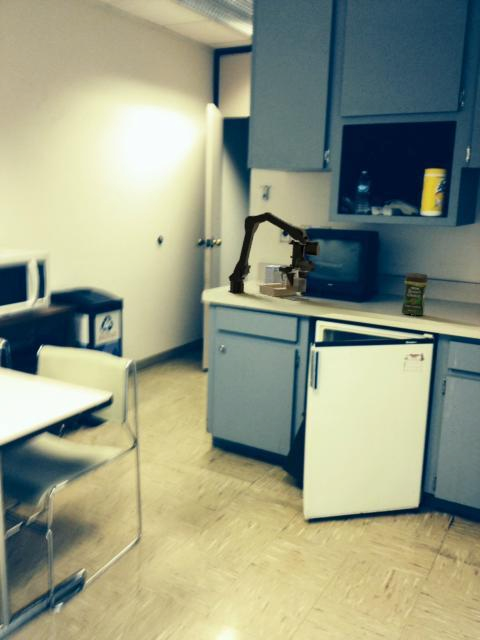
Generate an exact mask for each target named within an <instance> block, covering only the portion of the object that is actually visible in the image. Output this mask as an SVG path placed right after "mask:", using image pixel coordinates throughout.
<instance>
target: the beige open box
mask: <svg viewBox="0 0 480 640" xmlns="http://www.w3.org/2000/svg"><path fill="white" fill-rule="evenodd" d="M256 286H259V291H258V292H259V294H263V295H266V296H271V297H286V296H298V295H297V294H298V292H295V291H291V290H287V289H286V284H282V283H270V284H265V283H257V284H256Z"/></svg>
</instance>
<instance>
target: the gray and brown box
mask: <svg viewBox="0 0 480 640" xmlns="http://www.w3.org/2000/svg"><path fill="white" fill-rule="evenodd" d="M286 289H287V290H291V291H295V292H297V293H306V291H307V278H304V279H302V278H298V276H297V277H294V280H293V286H291V285H290V283H289V280H288V278H287V283H286Z"/></svg>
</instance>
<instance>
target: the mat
mask: <svg viewBox="0 0 480 640" xmlns="http://www.w3.org/2000/svg"><path fill="white" fill-rule="evenodd" d="M281 298H282V299H286V300H289V301H294V302H295V301H305V300H308V301H309V300H310V298H308V297H304V296H300V295H287V296H281Z"/></svg>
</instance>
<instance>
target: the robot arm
mask: <svg viewBox="0 0 480 640" xmlns="http://www.w3.org/2000/svg"><path fill="white" fill-rule="evenodd" d="M265 222H268V223H270V224H272V225H273V226H275V227H277V228H279V229H280V230H282V231H284V232H285V233H287V235H289V237H291V238H292V239H291V240H290V241H289V242H288V245H291V246H292V251H291V253H292V254H291V255H290V258H291V263H290V264H289V265H285V264H284V265H282V266H280V267H279V271H280V272H284V273H285V274H286V276H287V278H288V280H289V283H290V285H291V286H293V280H294V275H295V274H296V273H294V271H295V270H297V277H298V278H302V279H306V278H305V277H306V276H307V275H309V274H310V273H311V272H315V271H316V267H315V261H314V260H306V258H307V257H306V256H313V257H314V256H316V257H319V255H320V253H321V245H320V241H311V240H310V239H309V237H308V235H307V231H306V229H304V228H302V227H300V226H297V225H293V224H290V223H289V222H287V221H285V220H283V219H282V218H280V217H278V216H276V215H275V214H273V213H272V212H270V211H266V212H264V213H260V214H257V215H248V216H246V217H245V218H244V237H243V241H242V246H241V249H240V253H239V259H238V261H237V263H236V264H235V266H234V269H233V270H232V271H233V272H232V273H231V274H230V275H229V276H228V280H229V290H228V291H227V292H229V293H233V294H242V293H243V294H245V293H246V291H245V283H244V281H245V278H246V277H247V276H248V275H249V274H250V271H251V268H252V265H249V259H250V253H251V250H252V245H253V240H254V238H255V237H254V236H255V234H256V232H257V231H258V228H259V227H260V224H262V223H265ZM305 255H306V256H305Z"/></svg>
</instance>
